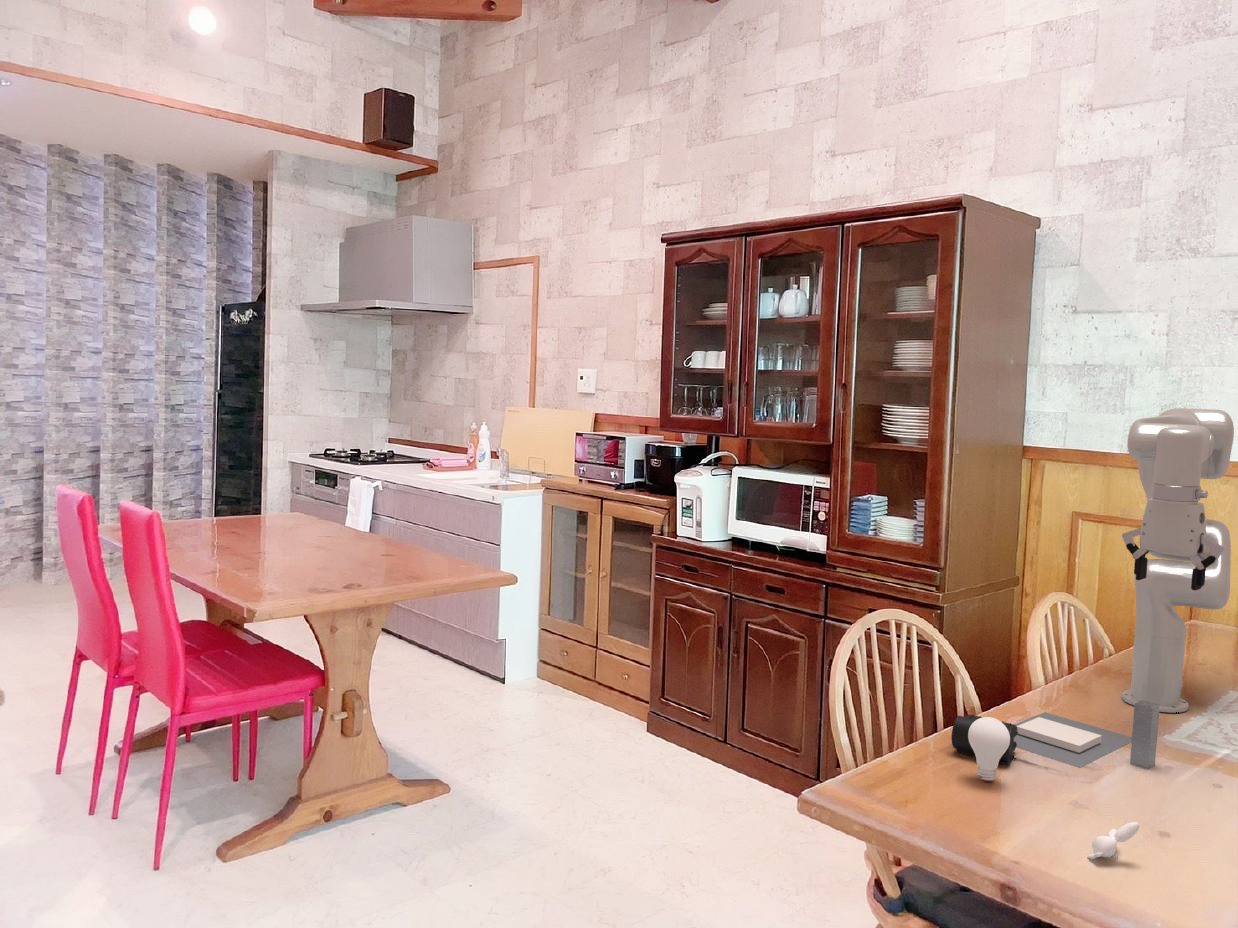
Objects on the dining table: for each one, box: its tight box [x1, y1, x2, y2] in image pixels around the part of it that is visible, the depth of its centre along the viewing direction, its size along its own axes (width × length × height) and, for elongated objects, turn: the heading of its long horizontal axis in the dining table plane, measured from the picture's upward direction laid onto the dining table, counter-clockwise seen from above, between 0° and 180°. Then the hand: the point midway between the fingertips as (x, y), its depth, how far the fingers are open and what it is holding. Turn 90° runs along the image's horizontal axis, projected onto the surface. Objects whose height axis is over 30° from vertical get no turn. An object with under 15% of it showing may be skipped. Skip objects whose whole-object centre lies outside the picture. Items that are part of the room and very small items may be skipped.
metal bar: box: [1129, 700, 1160, 770], centre depth 168 cm, size 3×3×12 cm
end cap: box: [951, 713, 1018, 765], centre depth 172 cm, size 10×7×7 cm
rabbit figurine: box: [1087, 821, 1140, 860], centre depth 135 cm, size 6×4×8 cm
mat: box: [1014, 711, 1132, 769], centre depth 180 cm, size 24×18×1 cm
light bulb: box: [968, 716, 1010, 783], centre depth 161 cm, size 7×7×11 cm
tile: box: [1017, 717, 1102, 753], centre depth 179 cm, size 2×12×9 cm
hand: (1167, 584), depth 178 cm, fingers open, 9 cm apart
